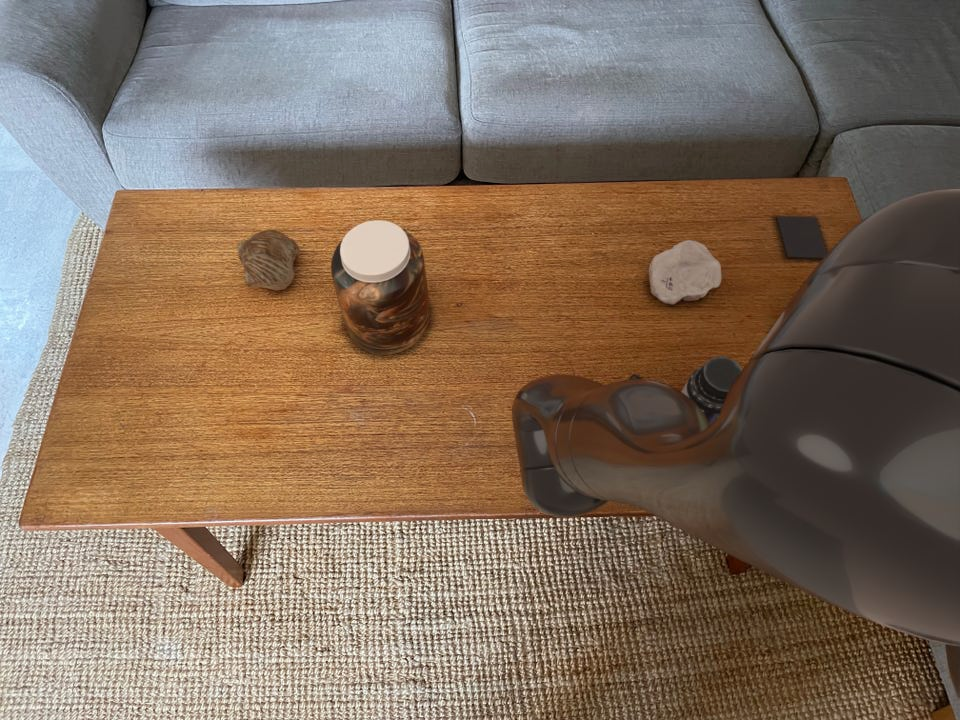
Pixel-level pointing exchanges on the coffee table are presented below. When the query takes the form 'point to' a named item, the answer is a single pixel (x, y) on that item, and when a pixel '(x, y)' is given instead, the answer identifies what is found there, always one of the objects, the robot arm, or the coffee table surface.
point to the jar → (381, 287)
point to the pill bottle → (712, 385)
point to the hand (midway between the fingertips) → (688, 416)
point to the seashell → (268, 259)
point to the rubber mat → (801, 237)
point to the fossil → (684, 273)
